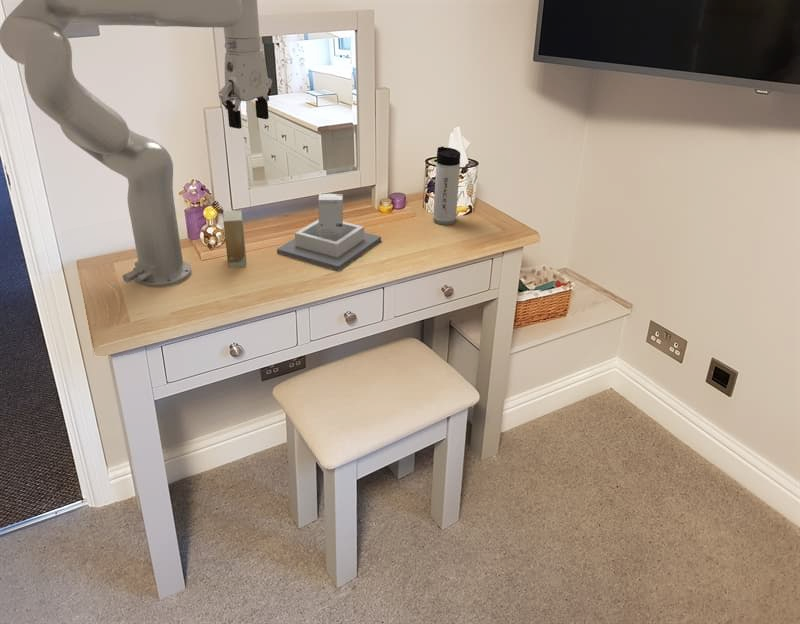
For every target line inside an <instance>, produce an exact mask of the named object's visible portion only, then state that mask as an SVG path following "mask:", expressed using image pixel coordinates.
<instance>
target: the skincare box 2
mask: <svg viewBox="0 0 800 624" xmlns="http://www.w3.org/2000/svg"><path fill="white" fill-rule="evenodd" d="M317 201H318V208H317V209H318V212H317V213H318V219H319V237H321V238H324V239H328V240H332V241H337V240H339V239H340V238H342V237H343V222H344V215H343V213H344V208H343V207H344V202H343V201H344V194H343V193H342V194H341V193H339V194H338V193H318V200H317Z"/></svg>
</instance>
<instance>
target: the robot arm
mask: <svg viewBox="0 0 800 624" xmlns="http://www.w3.org/2000/svg"><path fill="white" fill-rule="evenodd" d="M72 23H75V24H80V25H84V26H85V25H86V26H134V27H135V26H139V27H140V26H142V27H143V26H144V27H146V26H147V27H148V26H149V27H150V26H151V27H160V28H161V27H165V28H166V27H186V28H223V33H224V48H225V53H224V83H225V84H224V86H223V87H222V88H221V89H220V91H219V92H218V93H217V94H218V97H219V99H220V101H221V104H222V106H224V109H225V110H226V111H227V118H228V126H229V127H230V128H233V129H238V130H239V129H242V127H243V126H242V116H241V115H242V114H241V111H240V110H239V108H240V105H241V103H242V102H248V101H249V102H250V101H252V100H255V104H254V105H255V117H256V118H258V119H261V120H262V119H263V120H269V117H270V116H269V104H268V102H269V101H270V94H271V91H272V89H271V88H272V83H273V79H272V78H270V77H268V76H269V75H268V71H267V70H268V69H267V64H266V60H265V59H266V58H265V55H264V51H263V49H261V38H260V23H259V9H258V0H22V1H21V2H20V3H19V4H18V5H17V6H16V7H15V8H14V9H13V10H12V11H11V13H9V14H8V15H7V16H6V18H5V19H4V21H3V22H2V24H1V26H0V46H1V49H2V51H4V52H3V53H5V54H6V56H8V57H9V58H10V59H12V60H13V61H14V62H16V63H18V64H21V65H23V66H24V68H23V69H24V70H23V71H24V72H23V73H24V79H25V80H24V81H25V84H26V88H27V92H28V93H29V96H30V98H31V100H32V101H33V103H34V104H35V105H36V107H38V109H40V111H41V112H43V113H44V114H45V115H46V116H47V117H49V118H50V119H51V120H53V121H54V122H56V123H57V124H58V125H59V127H60V129H61V132H62V133H63V134H64V136H65V137H66V138H67V139H68V140H69V141H70V142H72V144H74V145H75V146H77V147H78V148H80V149H81V150H83V151H84V152H85V153H86V154H88V155H90V157H92V158H94V159H95V160H96V161H98V162H100V163H101V164H102V165H104V166H106V168H108V169H110V170H112V172H114V173H116V174H118V175H121V176H123V177H124V178H125V179H127V182H128V190H127V207H128V213H129V218H130V223H131V228H132V235H133V240H134V245H135V249H136V250H135V251H136V255H137V261H134V265H135V266H134V268H133V269H132V270H131V271H128V272H126V273H124V274H122V277H121V278H122V280H123V281H124V282H125V283H130V282H132V281H133V280H134V281H135V282H136V283H137V284H139V285H141V286H144V287H149V288H165V287H171V286H174V285H177V284H180V283H182V282H184V281H186V280H187V279H189V277H190V276H191V275H192V268H191V265H190V264H189V263H188V262H187V261H184V260H183V254H182V247H181V246H182V245H181V239H180V233H179V226H178V225H179V224H178V220H177V219H178V217H177V213H176V212H177V211H176V205H175V199H174V198H175V197H174V189H173V188H174V183H173V182H174V181H173V179H174V164H173V160H172V157H171V155H170V153H169V151H168V150H167V149H166V148H165V147H164V146H163V145H162V144H161V143H159V142H157V141H155V140H154V139H151V138H150V137H149V138H148V137H146V136H144V135H141V134H138V133H136V132H134V130H131V129H130V128H129V126H128V124H127V122H126V121H125V119H124V118H123V117H122V115H120V114H119V113H118V111H116V110H115V109H114V108H112V107H110V106H108V105H107V104H106V103H104V102H103V101H102V100H101V99H100V98H98V97H97V96H96V95H95V94H93V93H92V92H91V91H89V90H88V89H87V88H86V87H85V86H84V85H82V83H81V82H79V80H77V79H78V78H76V76H75V74H74V71H73V51H72V50H73V49H72V47H71V43H70V40H69V38H68V37H67V35H66V34H65V33H64V32H65V31H66V30H67V29H68V27H69V26H70V25H71V24H72Z"/></svg>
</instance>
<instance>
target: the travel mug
mask: <svg viewBox="0 0 800 624" xmlns="http://www.w3.org/2000/svg"><path fill="white" fill-rule="evenodd" d="M435 161H436V162H435V163H436V164H435V179H434V181H435V182H434V198H433V216H432V220H433V222H434V223H436V224H438V225H441V226H442V225H443V226H448V225H449V226H450V225H453V224H455V223H456V221H457V210H458V209H457V208H458V198H459V197H458V196H459V194H458V193H459V181H460V167H461V166H460V165H461V152H460V151H459V150H458V149H456V148H452V147H445V146H439V147H437V150H436V160H435Z"/></svg>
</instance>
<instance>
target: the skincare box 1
mask: <svg viewBox="0 0 800 624" xmlns="http://www.w3.org/2000/svg"><path fill="white" fill-rule="evenodd" d="M222 221H223V231H224V239H225V250H226V258H227V259H226V261H227V268H228V269H237V268H246V267H247V263H248V262H247V252H246V243H245V242H246V241H245V240H246V239H245V229H244V223H243V222H244V221H243V210H224V211H223V212H222Z"/></svg>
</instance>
